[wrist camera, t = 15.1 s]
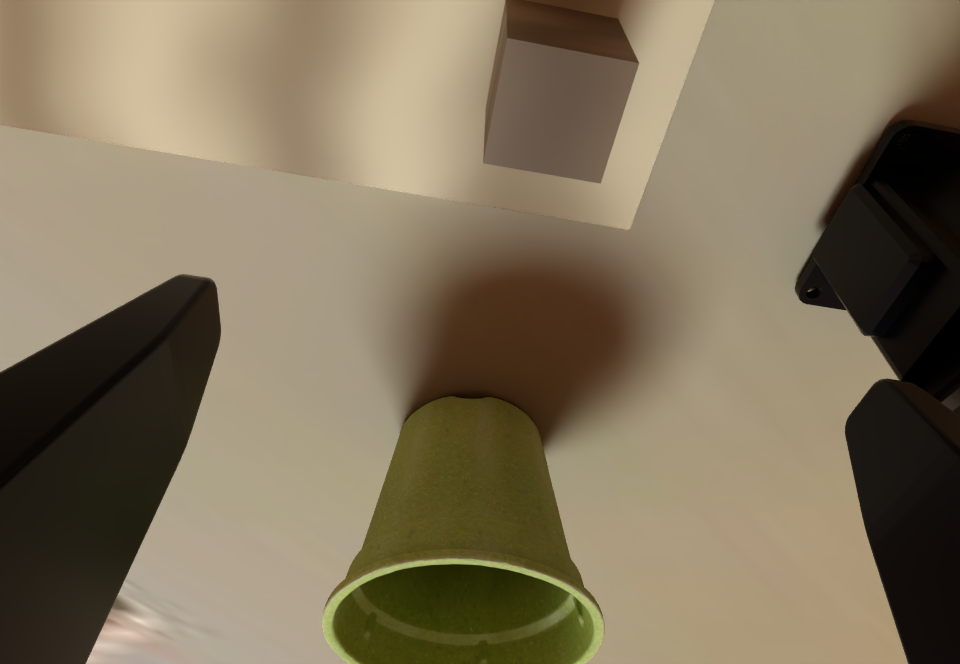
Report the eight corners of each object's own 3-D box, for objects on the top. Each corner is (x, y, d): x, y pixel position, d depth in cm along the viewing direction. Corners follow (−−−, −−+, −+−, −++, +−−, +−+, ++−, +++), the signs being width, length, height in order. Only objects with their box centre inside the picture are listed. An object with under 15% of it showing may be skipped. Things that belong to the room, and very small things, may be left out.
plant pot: (465, 320, 25) (451, 522, 18) (625, 440, 29) (662, 641, 22) (320, 439, 29) (266, 634, 23) (476, 528, 33) (469, 716, 27)
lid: (740, -107, 17) (803, -75, 13) (625, 214, 22) (647, 294, 19) (-103, -291, 15) (-287, -310, 11) (11, 110, 21) (-87, 178, 17)
